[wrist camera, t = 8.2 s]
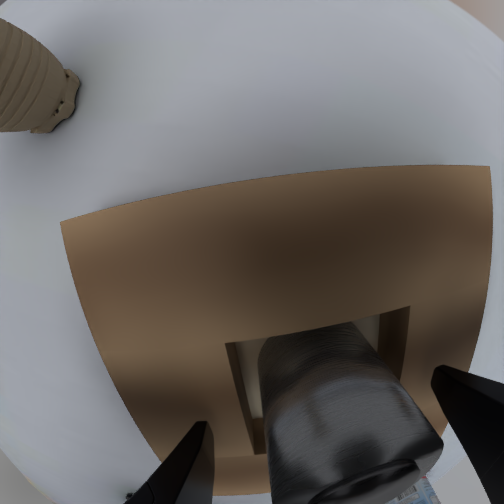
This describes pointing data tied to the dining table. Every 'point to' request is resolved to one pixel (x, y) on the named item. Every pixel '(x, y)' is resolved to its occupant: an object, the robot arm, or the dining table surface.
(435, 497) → the pill bottle
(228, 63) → the dining table surface
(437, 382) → the robot arm
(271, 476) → the socket
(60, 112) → the handle
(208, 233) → the socket board
